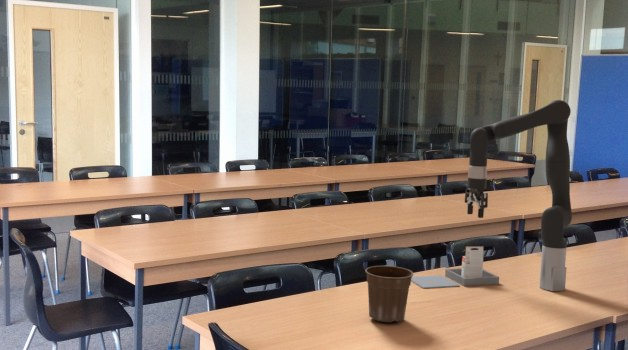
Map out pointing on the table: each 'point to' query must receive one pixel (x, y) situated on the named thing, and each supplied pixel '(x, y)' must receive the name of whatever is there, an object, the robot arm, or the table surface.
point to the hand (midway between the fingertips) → (475, 215)
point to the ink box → (472, 262)
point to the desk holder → (484, 280)
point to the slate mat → (433, 281)
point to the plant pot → (388, 292)
